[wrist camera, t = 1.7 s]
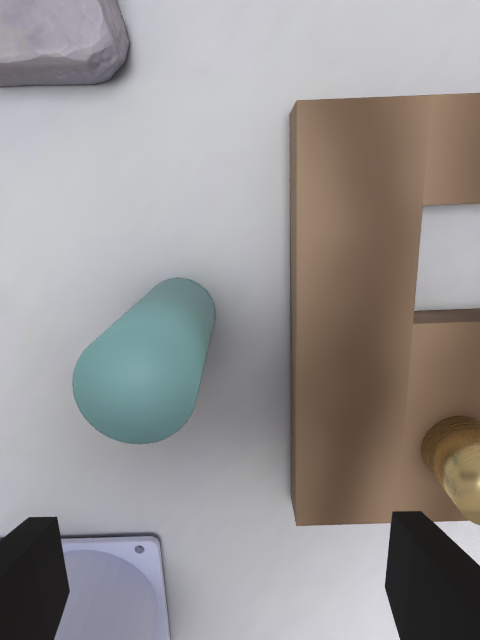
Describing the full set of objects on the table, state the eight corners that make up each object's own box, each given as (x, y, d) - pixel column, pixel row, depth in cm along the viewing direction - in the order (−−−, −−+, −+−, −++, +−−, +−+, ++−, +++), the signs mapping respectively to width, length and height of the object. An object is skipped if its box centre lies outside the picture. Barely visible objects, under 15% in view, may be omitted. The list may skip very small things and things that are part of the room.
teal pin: (148, 347, 18) (81, 445, 11) (141, 279, 18) (63, 332, 10) (217, 345, 18) (200, 441, 11) (213, 276, 17) (192, 327, 10)
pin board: (291, 496, 20) (306, 583, 16) (289, 114, 16) (311, 70, 11) (562, 487, 20) (663, 573, 16) (644, 99, 16) (825, 49, 11)
